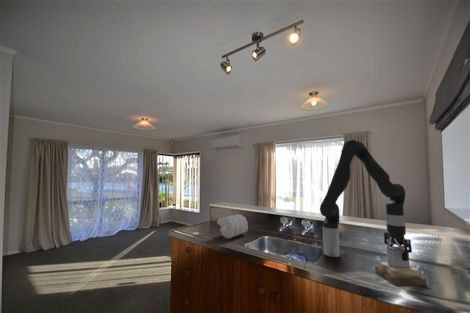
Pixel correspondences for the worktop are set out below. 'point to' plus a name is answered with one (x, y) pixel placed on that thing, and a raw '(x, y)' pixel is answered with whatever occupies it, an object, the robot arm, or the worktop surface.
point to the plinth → (401, 280)
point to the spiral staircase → (233, 225)
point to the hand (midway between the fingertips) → (397, 257)
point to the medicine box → (396, 258)
